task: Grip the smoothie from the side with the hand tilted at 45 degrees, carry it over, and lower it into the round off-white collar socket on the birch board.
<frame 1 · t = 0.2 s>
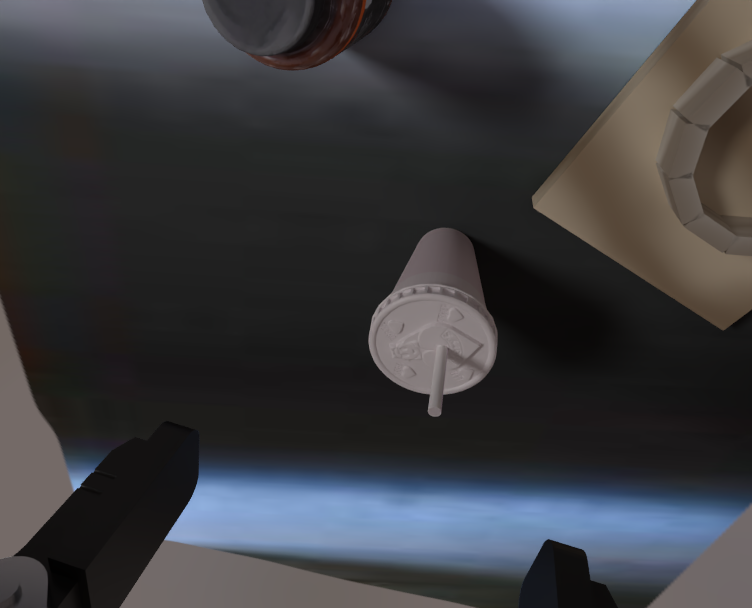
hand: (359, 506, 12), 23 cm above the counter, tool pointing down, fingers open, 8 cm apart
smoothie: (445, 252, 34), on the counter
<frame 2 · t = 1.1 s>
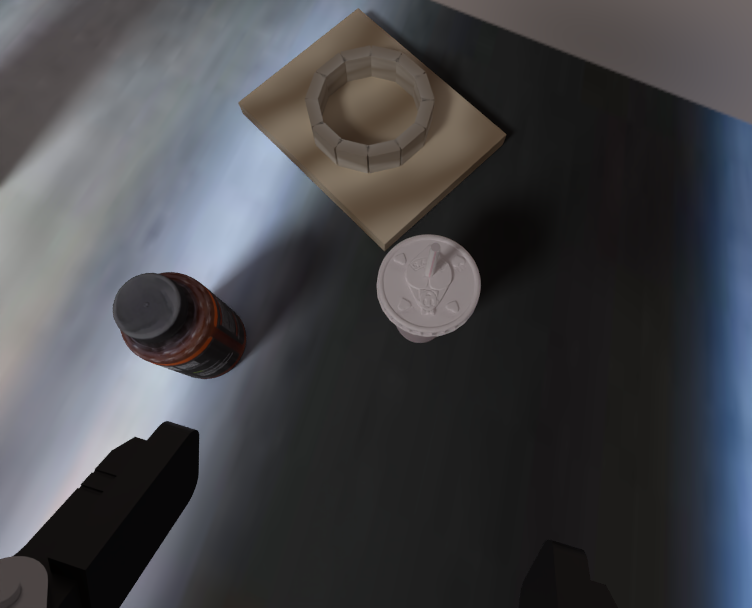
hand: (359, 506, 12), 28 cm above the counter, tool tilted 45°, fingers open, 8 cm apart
supplement bottle: (211, 342, 42), on the counter
smoothie: (419, 320, 42), on the counter
socket board: (370, 128, 46), on the counter
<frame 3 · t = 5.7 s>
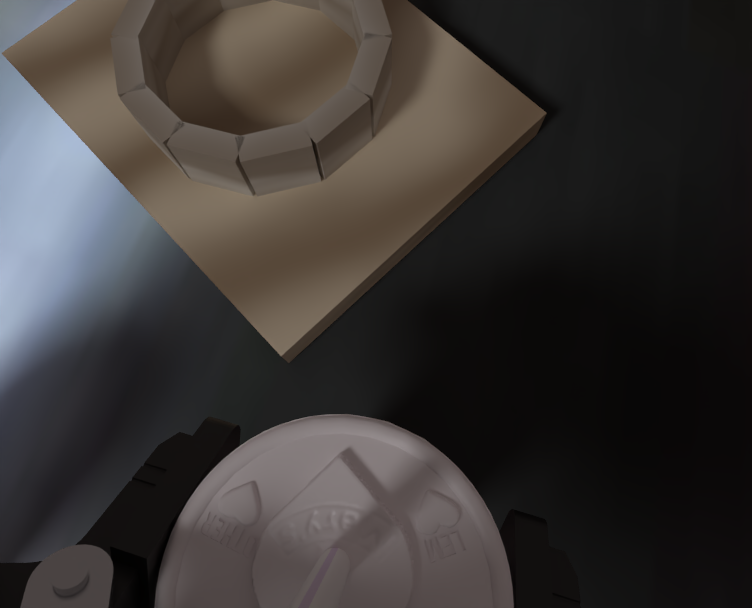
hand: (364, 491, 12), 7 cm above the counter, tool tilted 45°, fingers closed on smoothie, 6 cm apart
smoothie: (359, 525, 19), on the counter, touching gripper
socket board: (273, 105, 23), on the counter
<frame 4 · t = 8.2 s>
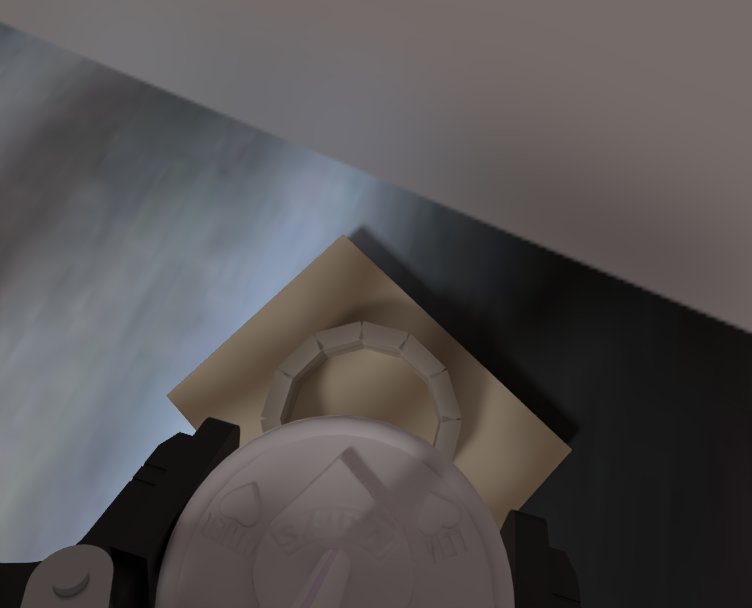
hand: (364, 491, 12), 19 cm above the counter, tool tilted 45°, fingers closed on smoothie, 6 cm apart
smoothie: (360, 525, 19), point 12 cm above the counter, touching gripper
socket board: (365, 423, 31), on the counter
when the fingers open (10 cm above the counter, at t = 10.9 s): smoothie drops 1 cm, resting on socket board.
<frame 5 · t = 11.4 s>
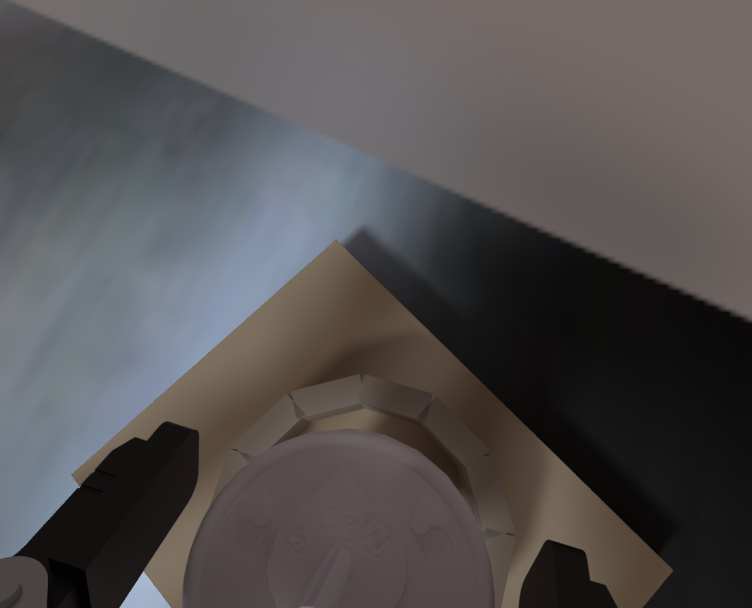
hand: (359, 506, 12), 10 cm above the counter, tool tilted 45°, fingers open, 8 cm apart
smoothie: (361, 525, 20), point 1 cm above the counter, touching socket board
socket board: (363, 516, 21), on the counter
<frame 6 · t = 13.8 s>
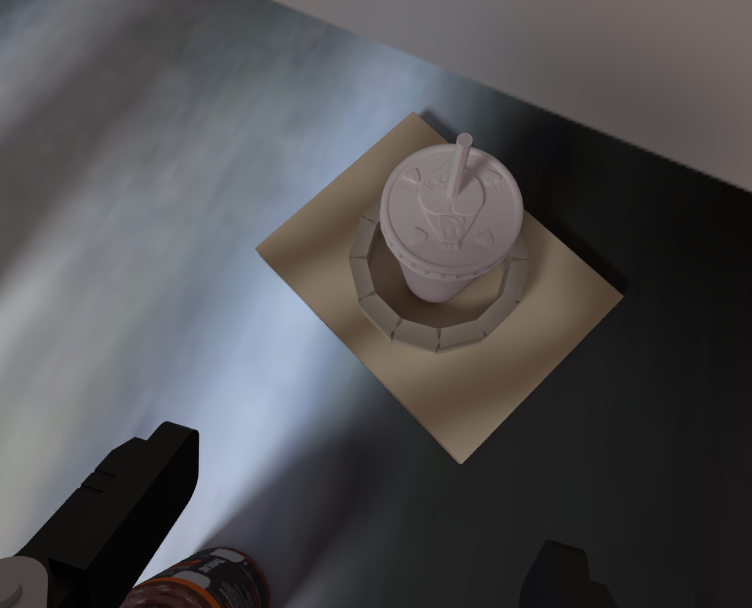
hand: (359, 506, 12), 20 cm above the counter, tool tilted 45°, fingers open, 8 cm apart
supplement bottle: (220, 600, 30), on the counter
smoothie: (434, 275, 33), point 1 cm above the counter, touching socket board
socket board: (433, 279, 34), on the counter
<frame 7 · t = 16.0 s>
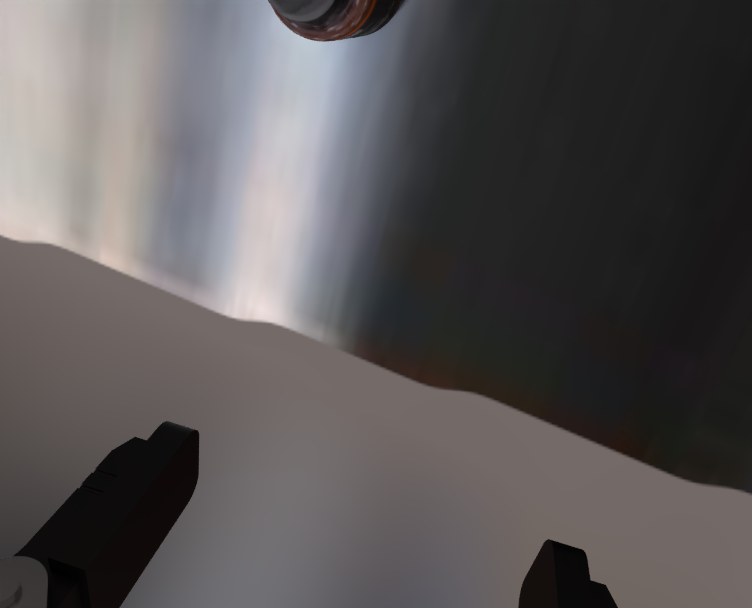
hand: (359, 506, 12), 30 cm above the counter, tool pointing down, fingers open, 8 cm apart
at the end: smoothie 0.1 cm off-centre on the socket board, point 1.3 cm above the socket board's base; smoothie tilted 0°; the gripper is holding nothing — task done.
